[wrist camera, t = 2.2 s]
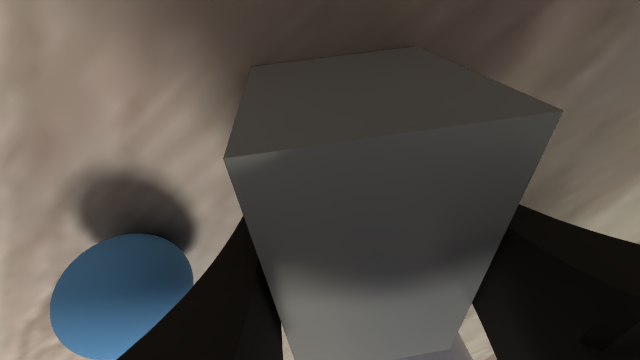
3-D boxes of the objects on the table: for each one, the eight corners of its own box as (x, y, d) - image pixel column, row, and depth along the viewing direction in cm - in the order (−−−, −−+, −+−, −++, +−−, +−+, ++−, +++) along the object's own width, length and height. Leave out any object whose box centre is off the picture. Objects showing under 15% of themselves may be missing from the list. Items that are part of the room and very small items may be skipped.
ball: (216, 268, 15) (195, 367, 11) (126, 282, 15) (72, 390, 11) (182, 203, 12) (137, 307, 8) (70, 219, 12) (-32, 335, 8)
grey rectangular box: (394, 233, 16) (449, 349, 11) (292, 250, 15) (300, 377, 10) (417, 46, 10) (563, 110, 5) (251, 66, 9) (223, 158, 4)
